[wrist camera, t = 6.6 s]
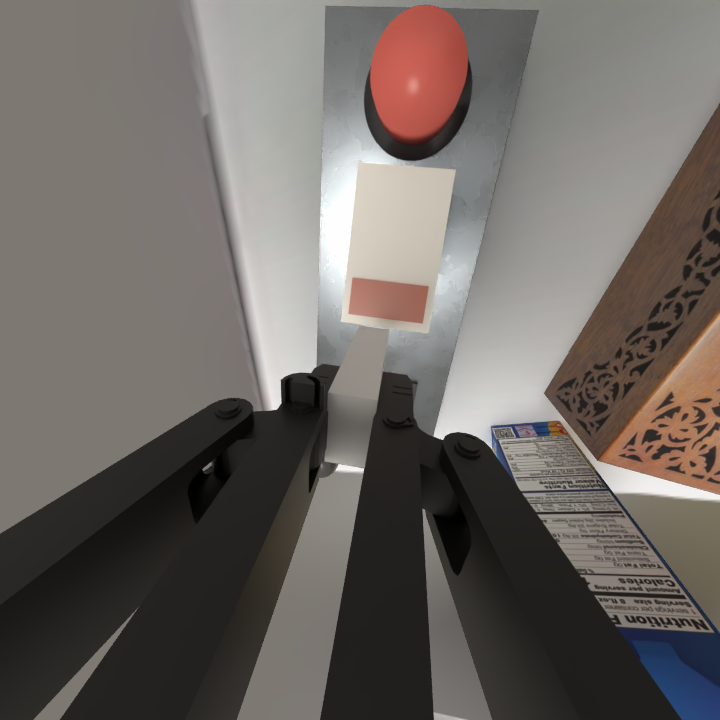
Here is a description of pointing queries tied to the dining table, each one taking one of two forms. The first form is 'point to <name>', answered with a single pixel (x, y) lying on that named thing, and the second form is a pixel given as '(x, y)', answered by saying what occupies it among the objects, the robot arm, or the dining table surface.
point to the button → (418, 73)
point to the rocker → (396, 245)
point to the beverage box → (617, 564)
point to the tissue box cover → (657, 340)
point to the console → (446, 151)
